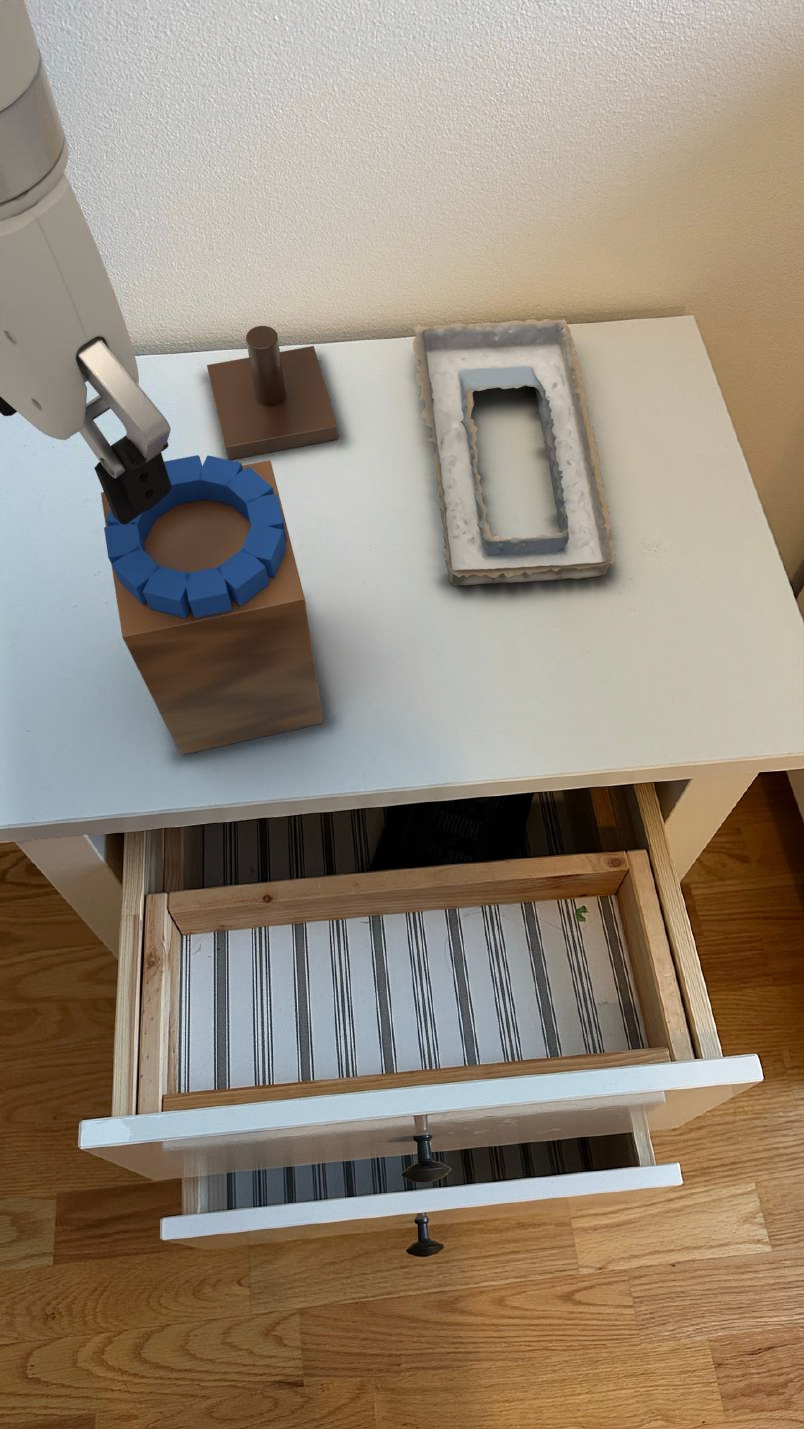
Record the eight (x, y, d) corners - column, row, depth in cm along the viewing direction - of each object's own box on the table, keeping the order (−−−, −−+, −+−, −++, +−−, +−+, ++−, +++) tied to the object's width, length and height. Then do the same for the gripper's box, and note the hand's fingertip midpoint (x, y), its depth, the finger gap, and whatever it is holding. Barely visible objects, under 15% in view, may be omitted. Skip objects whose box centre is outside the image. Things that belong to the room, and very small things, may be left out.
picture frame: (563, 343, 84) (568, 315, 81) (619, 586, 73) (628, 563, 70) (408, 354, 83) (409, 326, 81) (442, 600, 72) (444, 578, 70)
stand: (180, 755, 67) (122, 637, 52) (160, 632, 71) (100, 492, 57) (324, 723, 68) (305, 599, 54) (295, 604, 72) (270, 459, 58)
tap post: (228, 460, 78) (212, 391, 71) (209, 378, 82) (193, 305, 75) (338, 439, 79) (333, 369, 72) (315, 359, 83) (308, 285, 76)
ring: (125, 633, 53) (116, 615, 51) (104, 494, 57) (95, 473, 55) (300, 596, 54) (297, 578, 52) (267, 462, 58) (264, 441, 56)
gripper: (-272, 61, 36) (-75, 399, 51) (6, 299, 31) (132, 596, 46) (-96, -19, 38) (42, 327, 54) (189, 189, 33) (251, 506, 49)
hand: (83, 451), depth 50 cm, fingers open, 9 cm apart
